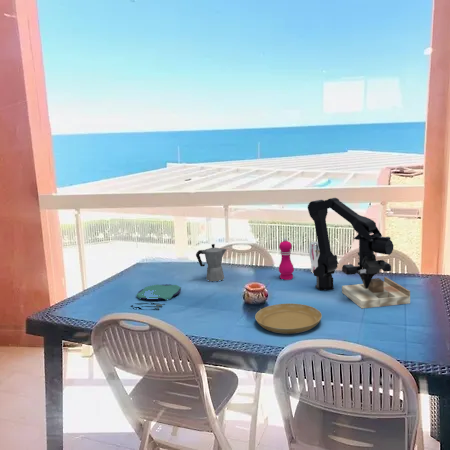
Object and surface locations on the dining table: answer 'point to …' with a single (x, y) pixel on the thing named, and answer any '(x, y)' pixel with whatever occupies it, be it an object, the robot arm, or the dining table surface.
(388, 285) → the beige sorting tray
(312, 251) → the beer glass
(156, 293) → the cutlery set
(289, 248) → the pepper mill
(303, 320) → the plant saucer
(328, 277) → the robot arm
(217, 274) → the coffeepot
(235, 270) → the dining table surface
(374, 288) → the walnut block
